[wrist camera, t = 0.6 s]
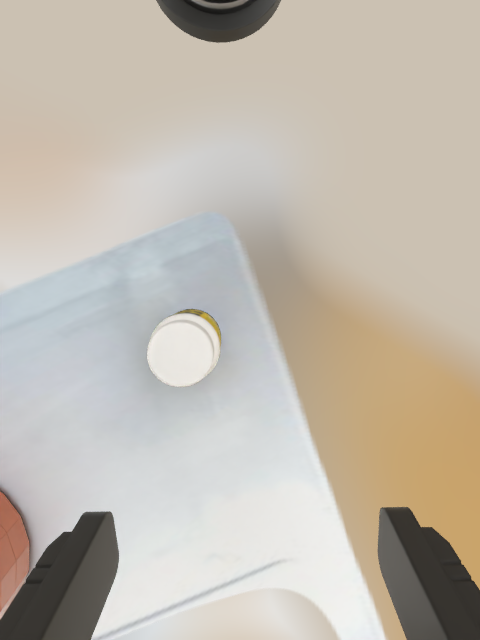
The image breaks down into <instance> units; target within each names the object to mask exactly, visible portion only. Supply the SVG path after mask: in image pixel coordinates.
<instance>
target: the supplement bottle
mask: <svg viewBox="0 0 480 640" xmlns="http://www.w3.org/2000/svg"><path fill="white" fill-rule="evenodd" d="M220 347H221V333H220V329H219V326H218V324H217V323H216V321H215V320H214V319H213V317H212V316H210V315H209V314H207V313H206V312H204V311H201V310H197V309H187V310H183V311H180V312H178V313H176V314H174V315H171V316H169V317H167V318H166V319H164V320H163V321H162V322H161V323H159V324H158V326H157V327H156V328H155V329H154V331H153V333H152V335H151V338H150V341H149V345H148V349H147V360H148V364H149V367H150V369H151V371H152V372H153V374H154V375H155V376H156V377H157V378H158V379H159V380H160V381H162V382H163V383H165V384H167V385H170V386H174V387H186V386H190V385H193V384H195V383H197V382H199V381H200V380H202V379H203V378H204V377H205V376H207V375H208V374H209V373H210V372H211V371H212V370H213V369H214V367H215V366H216V364H217V362H218V359H219V356H220Z"/></svg>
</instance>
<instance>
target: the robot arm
mask: <svg viewBox="0 0 480 640" xmlns="http://www.w3.org/2000/svg"><path fill="white" fill-rule="evenodd" d="M184 1H185V2H186V3H188V4H189V5H191V6H193V7H194V8H196V9H198V10H201V11H204V12H208V13H213V14H228V13H233V12H236V11H239V10H242V9H244V8H245V7H247V6H249V5H250V4H252V3H253V2H254V1H255V0H184ZM378 559H379V564H380V569H381V573H382V576H383V578H384V581H385V583H386V586H387V589H388V591H389V594H390V597H391V599H392V602H393V605H394V607H395V610H396V612H397V615H398V618H399V620H400V623H401V625H402V628H403V631H404V633H405V636H406V638H407V640H480V590H479V589H478V587H477V585H476V584H475V582H474V581H472V580H471V576H470V575H469V573H468V571H467V570H466V568H465V567H464V565H462V564H461V560H460V559H459V557H458V556H457V554H456V553H455V551H454V550H453V548H452V547H451V545H450V543H449V542H448V541H447V540H445V539H444V538H443V537H442V536H441V535H440V534H439V533H438V532H436V531H435V530H434V529H433V528H432V527H420V525H419V523H418V521H417V520H416V518H415V516H414V515H413V513H412V511H411V510H410V509H409V508H408V507H393V508H392V507H387V508H381V509H380V516H379V536H378ZM118 562H119V551H118V545H117V538H116V532H115V525H114V519H113V515H112V513H111V512H85V513H84V514H83V515H82V516H81V518H80V519H79V521H78V523H77V524H76V526H75V528H74V529H73V531H72V532H63V533H62V534H61V535H60V536H59V537H58V538H57V539H56V540H55V541H54V542H52V543H51V544H50V545H49V546H48V547H47V548H46V550H45V552H44V553H43V555H42V556H41V558H40V559H39V561H38V562H37V564H36V567H35V568H34V569H33V570H32V572H31V573H30V575H29V576H28V578H27V579H26V583H25V584H23V585H22V587H21V589H20V590H19V592H18V593H17V595H16V596H15V598H14V599H13V601H12V602H11V604H10V605H9V607H8V609H7V610H6V612H5V613H4V615H3V616H2V618H1V619H0V640H91V637H92V635H93V632H94V630H95V627H96V625H97V622H98V620H99V617H100V615H101V612H102V609H103V607H104V604H105V602H106V599H107V597H108V594H109V592H110V589H111V587H112V584H113V582H114V579H115V576H116V573H117V568H118Z"/></svg>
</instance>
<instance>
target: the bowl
mask: <svg viewBox="0 0 480 640" xmlns="http://www.w3.org/2000/svg"><path fill="white" fill-rule="evenodd" d="M29 545H30V543H29V539H28V536H27V533H26V530H25V527H24V524H23V521H22V518H21V516H20V515H19V513H18V512H17V511H16V509H15V508H14V507H13V505H12V504H11V503H10V501H9V500H8V499H7V497H6V496H5V495H4V494H3V493H2V492H1V491H0V619H1V618H2V616H3V615H4V613H5V612H6V610H7V609H8V607H9V605H10V604H11V602H12V601H13V599H14V598H15V596H16V595H17V593H18V592H19V590H20V589H21V587H22V585H23V584H24V582H25V579H26V577H27V574H28V572H29Z"/></svg>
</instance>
